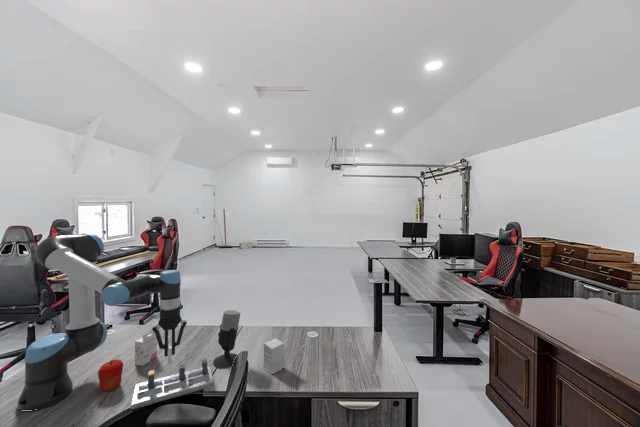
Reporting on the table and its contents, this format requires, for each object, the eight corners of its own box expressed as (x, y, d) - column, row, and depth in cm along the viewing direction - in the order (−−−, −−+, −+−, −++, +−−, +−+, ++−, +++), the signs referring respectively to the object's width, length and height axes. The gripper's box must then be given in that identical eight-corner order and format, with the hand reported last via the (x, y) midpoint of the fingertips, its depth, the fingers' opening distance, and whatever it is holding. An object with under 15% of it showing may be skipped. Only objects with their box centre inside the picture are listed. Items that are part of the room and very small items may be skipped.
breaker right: (200, 377, 114) (201, 363, 114) (200, 374, 117) (200, 360, 117) (208, 376, 116) (208, 361, 116) (207, 372, 118) (207, 358, 118)
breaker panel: (131, 409, 98) (131, 400, 98) (135, 389, 109) (136, 380, 109) (213, 386, 112) (213, 377, 112) (209, 370, 124) (209, 362, 124)
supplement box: (275, 362, 131) (276, 337, 131) (284, 369, 126) (284, 343, 126) (262, 368, 126) (263, 342, 126) (271, 375, 120) (272, 348, 120)
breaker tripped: (146, 392, 105) (146, 375, 105) (147, 388, 107) (147, 371, 107) (155, 390, 106) (155, 373, 106) (155, 385, 109) (155, 369, 109)
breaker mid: (177, 384, 110) (178, 369, 110) (177, 380, 113) (178, 365, 113) (185, 382, 111) (186, 367, 111) (185, 378, 114) (185, 363, 114)
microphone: (245, 361, 132) (246, 312, 132) (220, 372, 122) (221, 319, 122) (232, 351, 140) (233, 305, 140) (208, 361, 131) (209, 312, 131)
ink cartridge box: (148, 355, 135) (149, 327, 135) (156, 356, 134) (157, 328, 134) (133, 364, 126) (134, 334, 127) (142, 366, 125) (143, 336, 126)
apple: (106, 381, 114) (106, 355, 114) (127, 380, 115) (128, 353, 115) (92, 395, 105) (93, 366, 105) (115, 393, 106) (116, 365, 106)
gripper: (151, 313, 103) (150, 372, 103) (187, 307, 110) (187, 363, 109) (152, 307, 110) (152, 362, 110) (187, 302, 116) (186, 354, 116)
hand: (169, 362), depth 110 cm, fingers closed
